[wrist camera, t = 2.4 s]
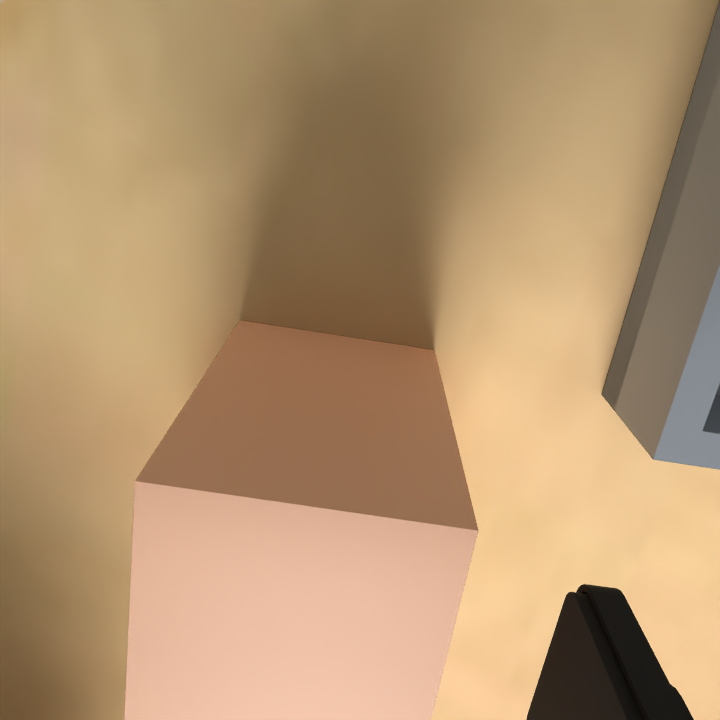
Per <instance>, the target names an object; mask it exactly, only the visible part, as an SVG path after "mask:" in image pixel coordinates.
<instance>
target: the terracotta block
mask: <svg viewBox="0 0 720 720" xmlns="http://www.w3.org/2000/svg"><path fill="white" fill-rule="evenodd" d="M477 534H478V527H477V523H476V519H475V515H474V511H473V507H472V503H471V499H470V495H469V490H468V486H467V482H466V478H465V474H464V470H463V466H462V462H461V458H460V453H459V449H458V445H457V441H456V437H455V433H454V429H453V425H452V421H451V416H450V412H449V408H448V404H447V400H446V396H445V392H444V388H443V383H442V379H441V375H440V371H439V367H438V363H437V359H436V355H435V351H434V350H431V349H424V348H418V347H411V346H405V345H398V344H392V343H385V342H379V341H372V340H366V339H359V338H353V337H346V336H339V335H333V334H326V333H320V332H313V331H307V330H300V329H294V328H287V327H281V326H274V325H268V324H261V323H254V322H248V321H241V320H240V321H239V323H238V324H237V326H236V327H235V329H234V330H233V332H232V333H231V335H230V336H229V338H228V339H227V341H226V342H225V344H224V346H223V347H222V349H221V350H220V352H219V353H218V355H217V356H216V358H215V359H214V361H213V362H212V364H211V365H210V367H209V369H208V370H207V372H206V373H205V375H204V376H203V378H202V379H201V381H200V382H199V384H198V385H197V387H196V388H195V390H194V392H193V393H192V395H191V396H190V398H189V399H188V401H187V402H186V404H185V405H184V407H183V408H182V410H181V411H180V413H179V415H178V416H177V418H176V419H175V421H174V422H173V424H172V425H171V427H170V428H169V430H168V431H167V433H166V434H165V436H164V438H163V439H162V441H161V442H160V444H159V445H158V447H157V448H156V450H155V451H154V453H153V454H152V456H151V457H150V459H149V461H148V462H147V464H146V465H145V467H144V468H143V470H142V471H141V473H140V474H139V476H138V477H137V479H136V480H135V494H134V516H133V539H132V561H131V584H130V606H129V629H128V652H127V674H126V697H125V719H124V720H431V718H432V714H433V710H434V706H435V702H436V698H437V694H438V690H439V686H440V682H441V678H442V674H443V670H444V666H445V662H446V658H447V654H448V650H449V646H450V642H451V638H452V634H453V630H454V626H455V622H456V618H457V614H458V610H459V606H460V602H461V598H462V594H463V590H464V586H465V582H466V578H467V574H468V570H469V566H470V562H471V558H472V554H473V550H474V546H475V542H476V538H477Z"/></svg>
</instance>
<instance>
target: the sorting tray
mask: <svg viewBox="0 0 720 720" xmlns="http://www.w3.org/2000/svg"><path fill="white" fill-rule="evenodd" d="M602 396H603V397H604V398H605V400H606V401H607V402H608V403H609V405H610V406H611V407H612V408H613V410H614V411H615V412H616V413H617V415H618V416H619V417H620V418H621V420H622V421H623V422H624V423H625V425H626V426H627V427H628V429H629V430H630V431H631V432H632V434H633V435H634V436H635V437H636V439H637V440H638V441H639V442H640V444H641V445H642V446H643V447H644V449H645V450H646V451H647V452H648V454H649V455H650V456H651V458H652V459H653V460H659V461H666V462H673V463H680V464H686V465H693V466H700V467H706V468H713V469H720V2H719V6H718V9H717V12H716V16H715V19H714V22H713V26H712V29H711V32H710V36H709V39H708V42H707V46H706V49H705V52H704V56H703V59H702V62H701V66H700V69H699V72H698V76H697V79H696V82H695V86H694V89H693V92H692V96H691V99H690V102H689V106H688V109H687V112H686V116H685V119H684V122H683V126H682V129H681V132H680V136H679V139H678V142H677V146H676V149H675V152H674V156H673V159H672V162H671V166H670V169H669V172H668V176H667V179H666V182H665V186H664V189H663V192H662V196H661V199H660V202H659V206H658V209H657V212H656V216H655V219H654V222H653V226H652V229H651V232H650V236H649V239H648V242H647V246H646V249H645V252H644V256H643V259H642V262H641V266H640V269H639V272H638V276H637V279H636V282H635V286H634V289H633V292H632V296H631V299H630V302H629V306H628V309H627V312H626V316H625V319H624V322H623V326H622V329H621V332H620V336H619V339H618V342H617V345H616V349H615V352H614V355H613V359H612V362H611V365H610V369H609V372H608V375H607V379H606V382H605V385H604V389H603V392H602Z"/></svg>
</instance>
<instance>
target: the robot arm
mask: <svg viewBox="0 0 720 720" xmlns="http://www.w3.org/2000/svg"><path fill="white" fill-rule="evenodd" d="M527 720H694V719H693V717H692V716H691V714H690V712H689V710H688V708H687V706H686V704H685V702H684V700H683V698H682V697H681V695H680V694H679V692H678V691H677V690H676V688H675V687H673V686H672V685H670V683H669V681H668V679H667V677H666V676H665V674H664V672H663V670H662V668H661V666H660V664H659V662H658V660H657V658H656V656H655V654H654V652H653V650H652V648H651V647H650V645H649V643H648V641H647V639H646V637H645V635H644V633H643V631H642V629H641V627H640V625H639V623H638V621H637V620H636V618H635V616H634V614H633V612H632V610H631V608H630V606H629V604H628V602H627V600H626V598H625V596H624V595H623V593H622V592H621V591H620V590H619V589H616V588H609V587H601V586H594V585H586V584H584V585H581V586H580V587H579V588H578V590H577V592H576V593H575V592H569V593H568V594H567V595H566V598H565V600H564V603H563V606H562V610H561V613H560V616H559V619H558V622H557V625H556V628H555V631H554V634H553V637H552V641H551V644H550V647H549V650H548V653H547V656H546V659H545V662H544V665H543V668H542V671H541V675H540V678H539V681H538V684H537V687H536V690H535V693H534V696H533V699H532V702H531V706H530V709H529V712H528V715H527Z"/></svg>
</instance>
